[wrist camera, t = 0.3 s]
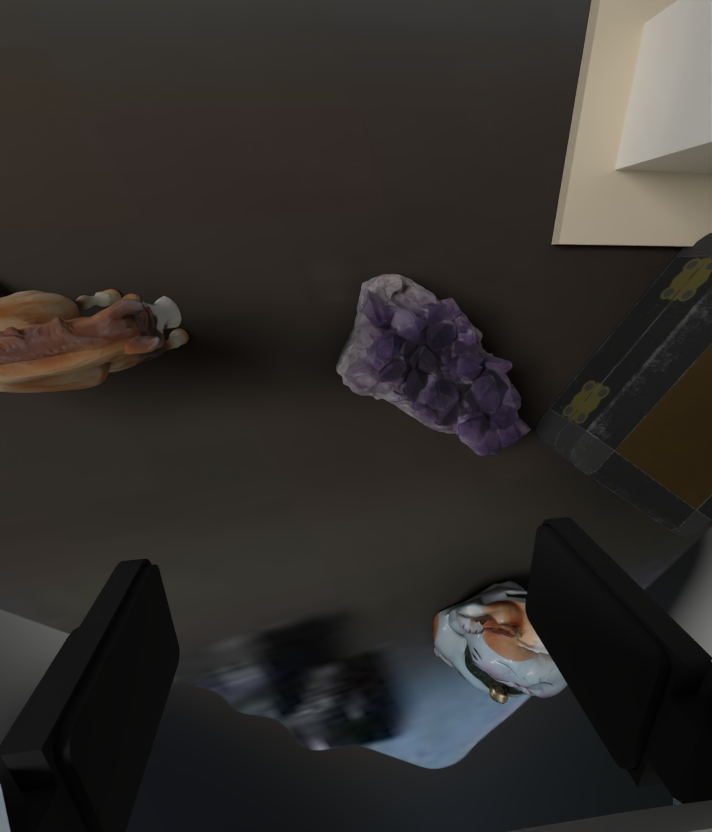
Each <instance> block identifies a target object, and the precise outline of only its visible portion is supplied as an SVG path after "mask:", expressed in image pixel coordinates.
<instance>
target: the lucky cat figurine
mask: <svg viewBox="0 0 712 832" xmlns="http://www.w3.org/2000/svg"><path fill="white" fill-rule="evenodd" d="M526 597H527V591H526V590H525V589H523V588H522V587H521V586H520V585H518V584H517V583H514V582H512V581H509V580H508V581H507V582H505V583H501V584H496V583H495V584H493V585H491V586H490V587H488V588H487V589H485V590H484V591H482V592H481V593H479V594H477V595H475V596H474V597H472V598H470V599H468V600H466V601H464V602H462V603H460V604H457V605H454V606H451V607H449V608H447V609H445V610H443V611H441V612H439V613H437V614H436V616H435V617H434V633H433V641H434V644H435V647H434V652H435V654H436V656H439V657H440V658H442V659H443V660H444V661H445V662H446V663H447V664H448V665H449V666H451V667H454V668H457V670H458V672H459V673H460V675H461V676H462V677H463V678H464V679H465V680H467V681H468V682H469V684H471V685H472V686H473V687H475V688H476V689H478V690H480V691H484V692H486V693H488V694H490V696H491V698H492V699H493V700H494V701H496V702H499V703H502V704H504V703H506V701H507V699H508V697H509V696H510V697H519V696H521V695H524V694H526V695H536V696H538V697H551V696H553V695H555V694H558V693H559V692H560V691H562V690H563V689H564V688H565V687H566V686H567V685H568V684H567V683H566V681H565V680H564V678H563V676H562V675H561V673H560V671H559V670H558V668H557V666H556V665H555V663H554V662H553V660H552V658H551V657H550V655H549V653H548V652H547V650H546V648H545V647H544V645H543V644H542V642H541V640H540V639H539V637H538V635H537V634H536V632H535V630H534V629H533V627H532V626H531V624H530V622H529V620H528V618H527V615H526V611H525V603H526Z"/></svg>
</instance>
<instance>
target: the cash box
mask: <svg viewBox="0 0 712 832" xmlns="http://www.w3.org/2000/svg"><path fill="white" fill-rule="evenodd" d="M536 432H537V434H538V436H539V438H540V440H541V441H542V442H544V443H545V444H546V445H548V446H549V447H550V448H551V449H553V450H554V451H555V452H557V453H558V454H559V455H561V456H562V457H563V458H564V459H566V460H567V461H568V462H570V463H571V464H572V465H573V466H575V467H576V468H578V469H579V470H581V471H582V472H584V473H585V474H587V475H588V476H590V477H591V478H593V479H594V480H596V481H597V482H598V483H600V484H601V485H603V486H604V487H606V488H607V489H609V490H610V491H612V492H613V493H615V494H616V495H618V496H619V497H621V498H622V499H624V500H625V501H627V502H628V503H629V504H631V505H632V506H634V507H635V508H637V509H638V510H640V511H641V512H643V513H644V514H646V515H647V516H649V517H650V518H652V519H653V520H655V521H656V522H658V523H659V524H661V525H662V526H663V527H665V528H666V529H668V530H669V531H671V532H672V533H674V534H675V535H678V536H680V537H691V536H693V535H694V534H696V533H698V532H700V531H701V530H702V529H703V528H704V527H705V526H706V525H707V524H708V523H709V522H710V521H711V520H712V233H709V234H708V235H706V236H704V237H703V238H701V239H700V240H698V241H697V242H696V243H695V244H694V246H689V247H682V248H681V250H680V251H679V252H678V253H677V255H676V256H675V257H674V258H673V259H672V260H671V262H670V263H669V264H668V265H667V266H666V268H665V269H664V270H663V271H662V272H661V274H660V275H659V276H658V277H657V279H656V280H655V281H654V282H653V283H652V285H651V286H650V287H649V288H648V289H647V291H646V292H645V293H644V294H643V295H642V297H641V298H640V299H639V300H638V301H637V303H636V304H635V305H634V306H633V307H632V309H631V310H630V311H629V312H628V313H627V315H626V316H625V317H624V318H623V319H622V321H621V322H620V323H619V324H618V326H617V327H616V328H615V329H614V330H613V332H612V333H611V334H610V335H609V336H608V338H607V339H606V340H605V341H604V342H603V344H602V345H601V346H600V347H599V348H598V350H597V351H596V352H595V353H594V354H593V356H592V357H591V358H590V359H589V360H588V362H587V363H586V364H585V365H584V366H583V368H582V369H581V370H580V371H579V373H578V374H577V375H576V376H575V377H574V379H573V380H572V381H571V382H570V383H569V385H568V386H567V387H566V388H565V389H564V391H563V392H562V393H561V394H560V395H559V397H558V398H557V399H556V400H555V401H554V403H553V404H552V405H551V406H550V407H549V409H548V410H547V411H546V412H545V414H544V415H543V416H542V417H541V418H540V420H539V422H538V424H537V427H536Z"/></svg>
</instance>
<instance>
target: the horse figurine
mask: <svg viewBox="0 0 712 832" xmlns="http://www.w3.org/2000/svg"><path fill="white" fill-rule="evenodd" d="M94 305H99V306H101V307H105V306H109V307H108V308H106V309H104V310H102V311H100V312H98V313H97V314H95V315H93V316H91V317H84V316H83V315H81V313H80V311H81V310H83V309H88V308H90V307H91V306H94ZM180 322H181V314H180V311H179V309H178V307H177V305H176V304H175V303H174V302H173V301H172V300H171V299H169V298H168V297H165V296H163V297H161V298H160V299H158V300H157V301H156V302H155V303H154V304H148V303H146V302H144V301H143V299H142V297H140V296H139V295H137V294H127V295H126V296H124V297H123V298H122V297H121V294H120V293H119V292H118V291H117V290H115V289H109V290H105V291H103V292H97V293H96V294H95V296H84V295H83V296H80V297H78V299H77V300H76V301H75V300H72V299H69V298H66V297H64V296H62V295H59V294H55V293H46V292H42V291H34V290H30V291H23V292H17V293H14V294H12V295H9V296H6V297H2V298H0V392H22V393H26V392H50V391H63V390H75V389H84V388H89V387H94V386H97V385H99V384H101V383H102V382H103V381H104V380H105V379H106V378H107V376H108V373H109V372H117V371H121V370H124V369H127V368H130V367H133V366H135V365H137V364H139V363H141V362H144V361H150V360H152V359H155V358H157V357H158V356H159V355H161V354H162V353H163V352H165V351H168V350H170V349H173V348H178V347H179V346H180V345H183V344H186V343H187V341H188V339H189V337H188V334H187V332H186V331H185V330H183V329H175V330H173V331H172V332H171V333H170V334H169V339H168V340H167V341H166V340H165V336H164V334H163V331H164V330H165V329H168V328H176V327H178V326H179V325H180Z"/></svg>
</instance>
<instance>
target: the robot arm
mask: <svg viewBox="0 0 712 832" xmlns="http://www.w3.org/2000/svg"><path fill="white" fill-rule="evenodd" d="M525 611H526V615H527V618H528V620H529V622H530V624H531V626H532V627H533V629H534V630H535V632H536V634H537V635H538V637H539V639H540V640H541V642H542V644H543V645H544V647H545V648H546V650H547V652H548V653H549V655H550V657H551V658H552V660H553V662H554V663H555V665H556V666H557V668H558V670H559V671H560V673H561V675H562V676H563V678H564V680H565V681H566V683H567V684H568V686H569V688H570V689H571V691H572V693H573V694H574V696H575V697H576V699H577V701H578V702H579V704H580V706H581V707H582V709H583V711H584V712H585V714H586V715H587V717H588V719H589V720H590V722H591V723H592V725H593V727H594V729H595V730H596V732H597V733H598V735H599V737H600V738H601V740H602V742H603V743H604V745H605V746H606V748H607V750H608V751H609V753H610V755H611V756H612V758H613V759H614V761H615V762H616V764H617V765H619V767H620V768H622V769H627V771H628V772H629V774H630V776H631V777H632V779H633V781H634V782H635V784H636V785H637V787H643V786H648V785H654V784H661V783H664V785H665V786H666V788H667V789H668V790H669V792H670V793H671V795H672V796H673V798H674V805H673V806H666V807H659V808H652V809H645V810H638V811H631V812H624V813H618V814H612V815H606V816H600V817H594V818H588V819H582V820H576V821H570V822H564V823H558V824H552V825H546V826H540V827H534V828H528V829H521V830H515V831H510V832H712V662H711V660H712V657H711V656H710V655H709V654H708V653H707V652H706V651H705V650H704V649H703V648H702V647H701V646H700V645H699V644H698V643H697V642H696V641H694V639H693V638H692V637H691V636H690V635H689V634H687V632H685V631H684V630H683V629H682V628H681V627H680V626H679V625H678V624H677V623H676V622H675V621H674V620H673V619H672V618H671V617H670V616H669V615H668V614H667V613H666V612H665V611H664V610H663V609H662V608H661V607H660V606H659V605H658V604H657V603H656V602H655V601H654V600H653V599H652V598H651V597H650V596H649V595H648V594H647V593H646V592H645V591H644V590H643V589H642V588H641V587H640V586H639V585H638V584H637V583H636V582H635V581H634V580H633V579H632V578H631V577H630V576H629V575H628V574H627V573H626V572H625V571H624V570H623V569H622V568H621V567H620V566H619V565H618V564H617V563H616V562H615V561H614V560H613V559H612V558H611V557H610V556H609V555H608V554H607V553H605V552H604V551H603V550H602V549H601V548H600V547H599V546H598V545H597V544H596V543H595V542H594V541H593V540H592V539H591V538H590V537H589V536H588V535H587V534H586V533H585V532H584V531H583V530H582V529H581V528H580V527H579V526H578V525H577V524H576V523H575V522H574V521H573V520H572V519H570V518H567V517H566V518H556V519H547V520H544V522H543V524H542V526H539V527H538V528H537V531H536V538H535V544H534V551H533V558H532V564H531V571H530V577H529V584H528V590H527V597H526V603H525ZM179 653H180V652H179V644H178V640H177V637H176V633H175V629H174V625H173V621H172V617H171V613H170V609H169V605H168V602H167V598H166V594H165V590H164V586H163V582H162V578H161V574H160V571H159V567H158V566H157V565H155V564H154V565H151V563H150V561H149V560H148V559H140V560H130V561H122V562H120V563H119V564H118V565H117V566H116V568H115V570H114V571H113V573H112V574H111V576H110V578H109V579H108V581H107V583H106V584H105V586H104V587H103V589H102V591H101V592H100V594H99V596H98V597H97V599H96V601H95V602H94V604H93V605H92V607H91V609H90V610H89V612H88V614H87V615H86V617H85V618H84V620H83V622H82V623H81V625H80V627H78V628H76V629H75V630H73V631H72V633H71V634H70V635H69V636H68V638H67V639H66V641H65V643H64V644H63V646H62V648H61V649H60V651H59V652H58V654H57V655H56V657H55V659H54V660H53V662H52V663H51V665H50V666H49V668H48V670H47V671H46V673H45V675H44V676H43V678H42V679H41V681H40V682H39V684H38V686H37V687H36V689H35V690H34V692H33V694H32V695H31V697H30V698H29V700H28V702H27V703H26V705H25V707H24V708H23V710H22V711H21V713H20V714H19V716H18V718H17V719H16V721H15V722H14V724H13V726H12V727H11V729H10V730H9V732H8V733H7V735H6V737H5V738H4V740H3V741H2V743H1V745H0V832H125V831H126V828H127V825H128V822H129V819H130V816H131V812H132V809H133V806H134V803H135V800H136V796H137V793H138V790H139V787H140V784H141V781H142V777H143V774H144V771H145V768H146V765H147V761H148V758H149V755H150V752H151V749H152V746H153V742H154V739H155V736H156V733H157V730H158V726H159V723H160V720H161V717H162V714H163V710H164V707H165V704H166V701H167V698H168V695H169V691H170V688H171V685H172V682H173V679H174V676H175V672H176V669H177V666H178V662H179Z"/></svg>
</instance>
